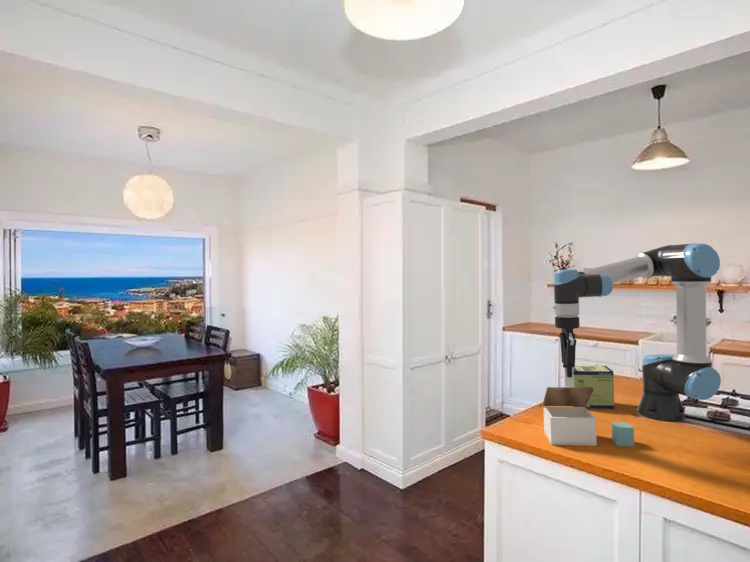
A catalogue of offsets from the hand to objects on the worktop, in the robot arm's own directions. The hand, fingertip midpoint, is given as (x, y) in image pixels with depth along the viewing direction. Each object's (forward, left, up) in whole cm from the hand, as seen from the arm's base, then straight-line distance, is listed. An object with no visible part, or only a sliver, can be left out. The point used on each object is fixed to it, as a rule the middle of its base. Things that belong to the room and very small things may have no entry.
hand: (568, 386), depth 153 cm
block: (-16, +1, -19) cm, 25 cm away
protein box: (-18, -41, -19) cm, 49 cm away
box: (0, -2, -19) cm, 19 cm away
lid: (0, -3, -5) cm, 6 cm away
